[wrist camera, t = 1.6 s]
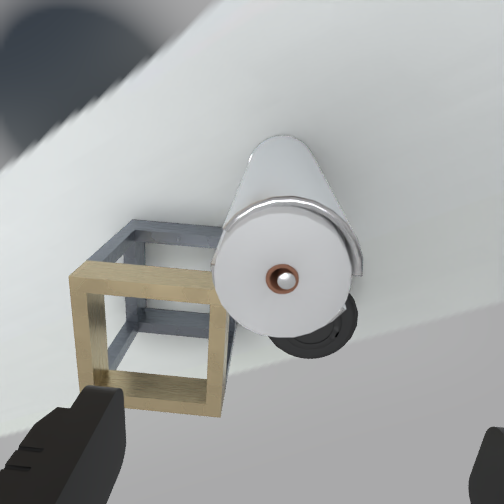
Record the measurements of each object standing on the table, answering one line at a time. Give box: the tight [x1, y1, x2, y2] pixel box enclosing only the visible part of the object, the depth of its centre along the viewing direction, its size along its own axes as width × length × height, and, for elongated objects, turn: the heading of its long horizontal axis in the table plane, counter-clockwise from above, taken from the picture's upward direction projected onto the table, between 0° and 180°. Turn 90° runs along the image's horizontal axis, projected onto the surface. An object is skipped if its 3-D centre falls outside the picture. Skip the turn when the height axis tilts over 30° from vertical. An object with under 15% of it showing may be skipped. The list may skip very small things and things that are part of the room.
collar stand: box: [69, 219, 237, 417], centre depth 38 cm, size 11×11×14 cm
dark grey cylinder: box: [268, 293, 358, 359], centre depth 39 cm, size 8×8×10 cm
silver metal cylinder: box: [211, 135, 363, 337], centre depth 28 cm, size 6×6×25 cm
